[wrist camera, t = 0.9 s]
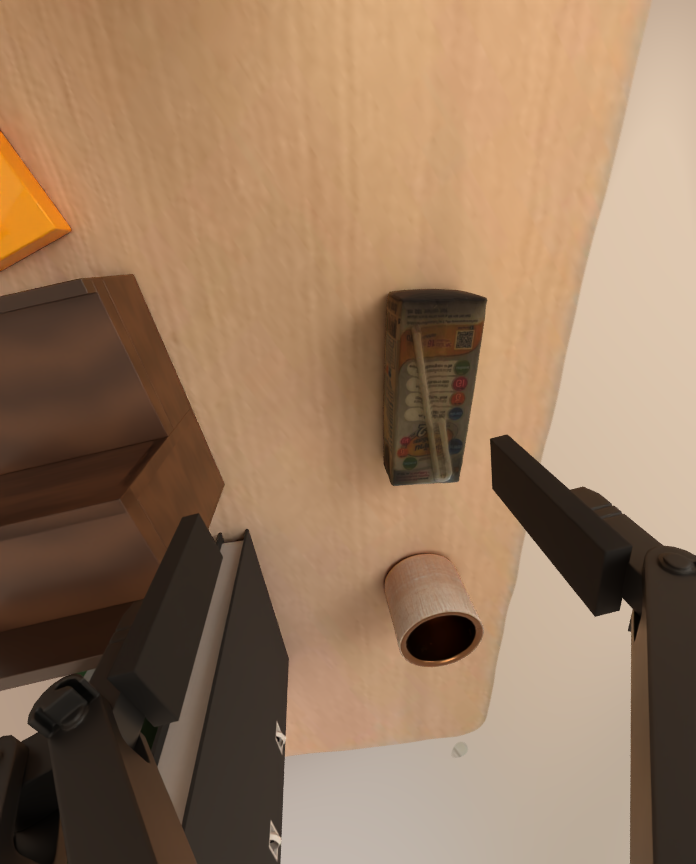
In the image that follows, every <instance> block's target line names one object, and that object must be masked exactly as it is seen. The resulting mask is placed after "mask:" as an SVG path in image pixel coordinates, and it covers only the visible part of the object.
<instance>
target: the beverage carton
mask: <svg viewBox="0 0 696 864" xmlns="http://www.w3.org/2000/svg"><path fill="white" fill-rule="evenodd" d="M486 303H487V299H486V298H485V297H482V296H479V295H476V294H472V293H468V292H464V291H458V290H442V289H419V290H402V291H393V292H389V294H388V300H387V311H386V338H385V375H384V466H385V469H386V472H387V474H388V476H389V479H390V482H391V484H392V485H393V486H399V485H413V484H431V483H452V482H458V481H459V476H460V471H461V466H462V461H463V454H464V449H465V443H466V436H467V431H468V424H469V418H470V411H471V405H472V399H473V393H474V386H475V380H476V373H477V367H478V360H479V353H480V347H481V340H482V333H483V326H484V319H485V309H486Z"/></svg>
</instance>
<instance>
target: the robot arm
mask: <svg viewBox="0 0 696 864" xmlns="http://www.w3.org/2000/svg"><path fill="white" fill-rule="evenodd" d="M490 446H491V467H492V489H493V490H494V491H495V492H496V494H497V495H498V496H499V497H500V499H501V500H502V501H503V502H504V504H505V505H506V506H507V507H508V509H509V510H510V511H511V512H512V514H513V515H514V516H515V517H516V519H517V520H518V521H519V522H520V524H521V525H522V526H523V527H524V529H525V530H526V531H527V532H528V534H529V535H530V536H531V537H532V539H533V540H534V541H535V542H536V544H537V545H538V546H539V547H540V549H541V550H542V551H543V552H544V553H545V555H546V556H547V557H548V559H549V560H550V561H551V562H552V564H553V565H554V566H555V567H556V569H557V570H558V571H559V572H560V574H562V576H563V577H564V578H565V580H566V581H567V582H568V583H569V585H570V586H571V587H572V588H573V590H574V591H575V592H576V593H577V595H578V596H579V597H580V598H581V600H582V601H583V602H584V603H585V605H586V606H587V607H588V608H589V610H590V611H591V612H592V613H593V615H594V616H595V617H596V616H600V615H603V614H607V613H612V612H616V611H619V610H620V606H621V601H622V598H623V599H624V600H625V601H626V602H627V603H628V604H629V605H630V606H631V607H632V608H633V611H632V615H631V619H630V624H629V628H628V631H630V632H631V795H630V796H631V797H630V798H631V801H630V864H696V556H695V555H693V554H691V553H690V552H688V551H685V550H682V549H679V548H676V547H670V546H663V545H662V544H661V543H659V542H658V541H657V540H656V539H654V538H653V537H652V536H651V535H649V534H648V533H647V532H646V531H644V530H643V529H642V528H641V527H640V526H638V525H637V524H636V523H635V522H634V521H632V520H631V519H630V518H629V517H627V516H626V515H625V514H622V513H621V511H620V510H619V509H617V508H616V507H615V506H612V504H611V503H610V502H609V501H608V500H606V499H605V498H604V497H603V496H601V495H600V494H599V493H596V492H594V491H592V490H590V489H587V488H585V487H580V488H576V489H572V490H569V489H568V488H567V487H566V486H565V485H564V484H563V483H561V482H560V481H559V480H558V479H557V478H556V477H554V475H552V474H551V473H550V472H549V471H548V470H547V469H545V468H544V467H543V466H542V465H541V464H540V463H539V462H538V461H537V460H536V459H534V458H533V457H532V456H531V455H530V454H529V453H528V452H526V451H525V450H524V449H523V448H522V447H521V446H520V445H519V444H517V443H516V442H515V441H514V440H513V439H512V438H511V437H510V436H508V435H503V436H499V437H495V438H491V439H490ZM222 560H223V556H222V554H221V552H220V550H219V548H218V547H217V545H216V543H215V541H214V539H213V537H212V536H211V534H210V532H209V530H208V528H207V527H206V525H205V523H204V521H203V519H202V517H201V516H200V514H199V513H197V514H193V515H189V516H185V517H182V519H181V521H180V523H179V525H178V527H177V529H176V531H175V533H174V536H173V538H172V540H171V542H170V544H169V546H168V548H167V550H166V553H165V555H164V557H163V559H162V561H161V563H160V565H159V567H158V570H157V572H156V574H155V576H154V578H153V580H152V582H151V584H150V587H149V589H148V591H147V593H146V595H145V597H144V599H141V600H137V601H134V602H133V604H132V605H131V606H130V607H129V608H128V610H127V611H126V612H125V613H124V614H123V616H122V618H121V620H120V622H119V624H118V626H117V628H116V629H115V630H116V632H115V633H113V635H112V637H111V639H110V641H109V645H107V647H106V649H105V651H104V653H103V655H102V657H101V659H100V661H99V663H98V665H97V667H96V669H95V671H94V673H93V675H92V677H91V679H90V681H89V682H88V681H87V680H86V679H85V678H84V677H83V676H82V675H81V674H71V675H68V676H65V677H63V678H62V679H60V680H59V681H57V682H55V683H54V684H53V685H51V686H50V687H49V688H48V689H47V690H46V691H45V692H44V693H43V694H42V695H41V696H40V698H39V699H38V700H37V701H36V703H35V704H34V706H33V708H32V710H31V712H30V714H29V717H28V724H29V725H30V726H31V727H32V728H34V729H35V730H36V731H38V733H36V734H34V735H32V736H31V737H29V738H27V739H25V740H23V741H22V742H20V741H19V740H17V739H16V738H15V737H13V736H12V735H9V736H2V737H1V738H0V864H67V861H68V864H197V862H196V859H195V857H194V855H193V852H192V850H191V847H190V845H189V842H188V840H187V838H186V835H185V833H184V830H183V828H182V825H181V823H180V821H179V818H178V816H177V813H176V811H175V808H174V806H173V804H172V801H171V799H170V796H169V794H168V791H167V789H166V787H165V784H164V782H163V779H162V777H161V774H160V772H159V770H158V767H157V765H156V762H155V760H154V757H153V755H152V753H151V750H150V748H149V745H148V743H147V740H146V738H145V736H144V735H143V734H142V733H141V732H140V731H141V728H142V726H143V723H144V720H145V718H146V719H147V720H148V721H149V722H150V723H151V724H152V725H153V726H154V727H157V726H161V725H165V724H169V723H173V722H177V721H179V718H180V714H181V710H182V707H183V703H184V699H185V695H186V692H187V688H188V684H189V681H190V677H191V673H192V670H193V666H194V662H195V659H196V655H197V651H198V648H199V644H200V640H201V637H202V633H203V629H204V626H205V622H206V618H207V615H208V611H209V607H210V604H211V600H212V596H213V593H214V589H215V585H216V582H217V578H218V574H219V571H220V567H221V563H222Z"/></svg>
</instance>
